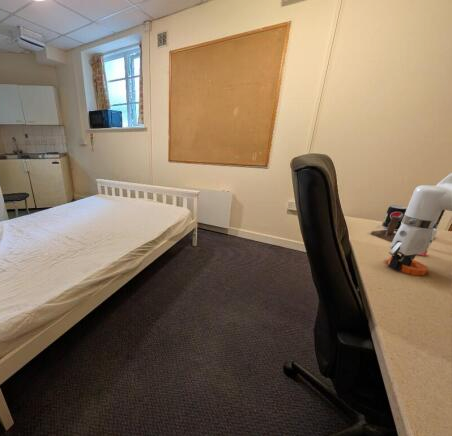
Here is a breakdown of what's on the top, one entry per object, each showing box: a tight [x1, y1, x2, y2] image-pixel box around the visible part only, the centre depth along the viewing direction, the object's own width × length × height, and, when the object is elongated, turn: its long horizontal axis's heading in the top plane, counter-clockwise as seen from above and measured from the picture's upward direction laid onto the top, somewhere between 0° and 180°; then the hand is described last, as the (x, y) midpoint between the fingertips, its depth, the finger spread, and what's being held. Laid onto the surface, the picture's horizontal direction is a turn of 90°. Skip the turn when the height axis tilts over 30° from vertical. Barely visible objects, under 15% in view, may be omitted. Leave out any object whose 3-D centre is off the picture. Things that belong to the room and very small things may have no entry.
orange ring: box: [387, 256, 428, 276], centre depth 81 cm, size 10×10×2 cm
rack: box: [370, 216, 400, 243], centre depth 105 cm, size 9×9×10 cm
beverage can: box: [381, 204, 407, 231], centre depth 114 cm, size 7×7×12 cm
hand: (398, 267), depth 81 cm, fingers open, 3 cm apart
